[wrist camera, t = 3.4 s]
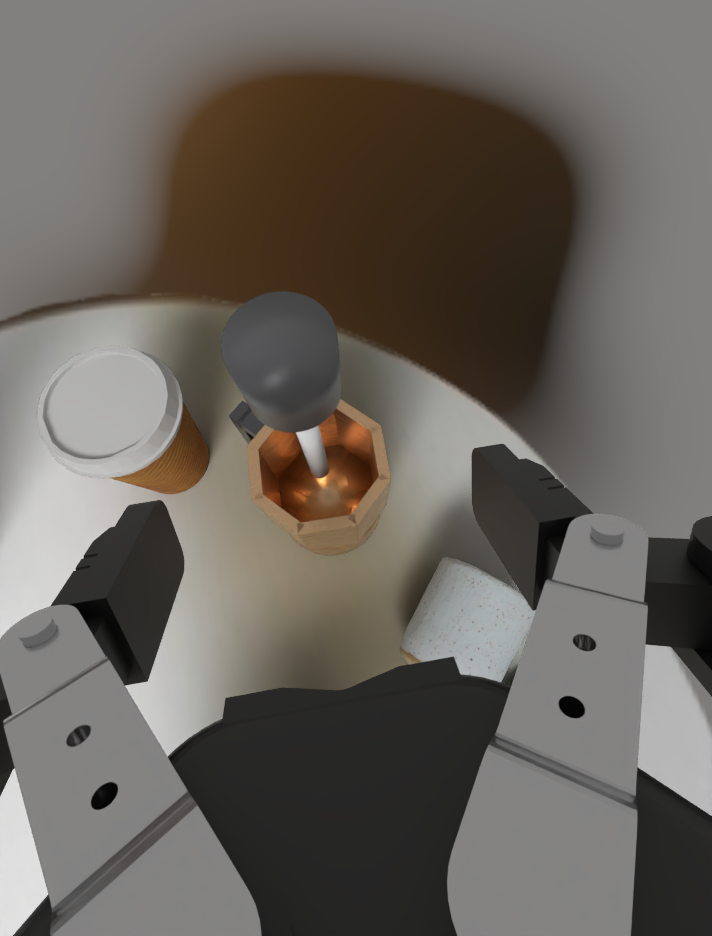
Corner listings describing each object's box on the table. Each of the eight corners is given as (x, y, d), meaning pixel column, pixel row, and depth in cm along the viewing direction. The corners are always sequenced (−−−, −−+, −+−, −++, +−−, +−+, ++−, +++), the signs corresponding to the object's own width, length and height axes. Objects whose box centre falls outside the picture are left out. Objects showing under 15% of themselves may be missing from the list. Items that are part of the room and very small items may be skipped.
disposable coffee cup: (248, 453, 42) (205, 393, 30) (172, 534, 40) (93, 502, 28) (176, 393, 44) (109, 315, 32) (99, 467, 42) (-1, 412, 30)
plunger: (277, 476, 30) (197, 352, 16) (314, 429, 31) (270, 273, 17) (325, 511, 29) (288, 415, 15) (362, 462, 30) (360, 328, 16)
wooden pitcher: (237, 497, 41) (187, 452, 29) (298, 423, 43) (273, 354, 31) (341, 575, 38) (331, 560, 27) (400, 494, 40) (414, 447, 29)
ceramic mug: (389, 650, 37) (397, 661, 29) (435, 559, 39) (454, 548, 31) (512, 724, 35) (553, 755, 28) (554, 625, 37) (602, 629, 30)
